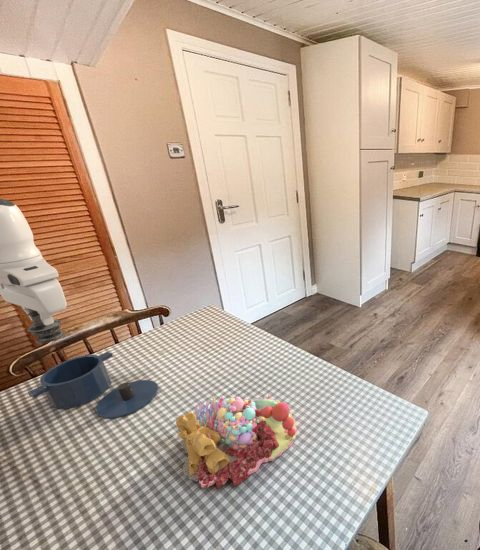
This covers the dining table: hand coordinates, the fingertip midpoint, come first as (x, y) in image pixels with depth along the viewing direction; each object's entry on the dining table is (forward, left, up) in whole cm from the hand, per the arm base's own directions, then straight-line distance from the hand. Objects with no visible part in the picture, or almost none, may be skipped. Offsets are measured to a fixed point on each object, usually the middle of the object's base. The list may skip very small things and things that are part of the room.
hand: (43, 322), depth 75 cm
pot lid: (+14, +5, -24) cm, 28 cm away
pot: (-1, +2, -25) cm, 25 cm away
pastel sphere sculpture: (+50, +7, -25) cm, 57 cm away
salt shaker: (0, 0, -5) cm, 5 cm away
